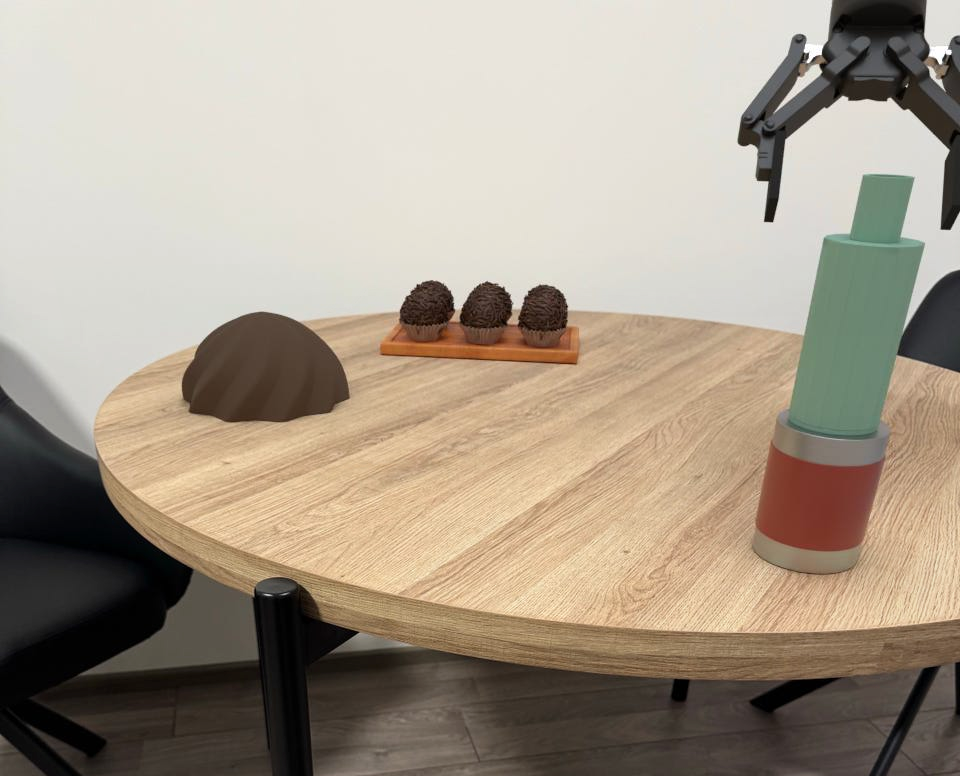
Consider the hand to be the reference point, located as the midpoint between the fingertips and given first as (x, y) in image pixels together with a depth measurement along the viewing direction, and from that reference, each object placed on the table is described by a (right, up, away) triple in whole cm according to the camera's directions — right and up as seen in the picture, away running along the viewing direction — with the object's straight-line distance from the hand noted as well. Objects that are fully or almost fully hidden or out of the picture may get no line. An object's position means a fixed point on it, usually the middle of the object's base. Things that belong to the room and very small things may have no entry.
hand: (859, 214), depth 72 cm
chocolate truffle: (-30, +10, +63) cm, 71 cm away
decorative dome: (-56, -4, +38) cm, 68 cm away
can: (-3, -26, +4) cm, 27 cm away
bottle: (-3, -17, -2) cm, 17 cm away
